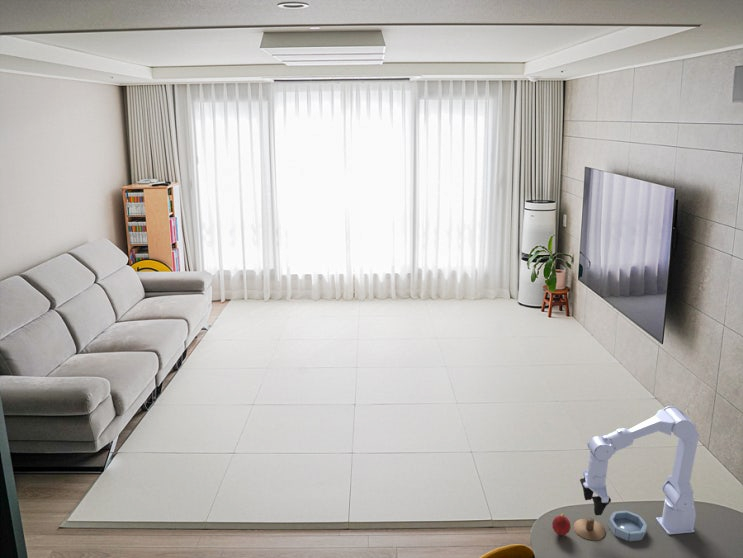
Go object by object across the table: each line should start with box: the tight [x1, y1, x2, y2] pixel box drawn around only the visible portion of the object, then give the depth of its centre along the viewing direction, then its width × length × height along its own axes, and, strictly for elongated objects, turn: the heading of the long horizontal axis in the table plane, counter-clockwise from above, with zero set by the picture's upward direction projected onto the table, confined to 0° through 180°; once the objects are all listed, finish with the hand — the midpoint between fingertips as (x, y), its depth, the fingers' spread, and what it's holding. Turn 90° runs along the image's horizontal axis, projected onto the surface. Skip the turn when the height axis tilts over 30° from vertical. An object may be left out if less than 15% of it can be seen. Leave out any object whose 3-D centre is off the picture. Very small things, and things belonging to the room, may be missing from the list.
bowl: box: [608, 510, 648, 542], centre depth 217 cm, size 11×11×3 cm
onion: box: [551, 513, 571, 536], centre depth 214 cm, size 6×6×8 cm
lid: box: [573, 517, 606, 541], centre depth 217 cm, size 10×10×4 cm
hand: (593, 506), depth 214 cm, fingers open, 7 cm apart
